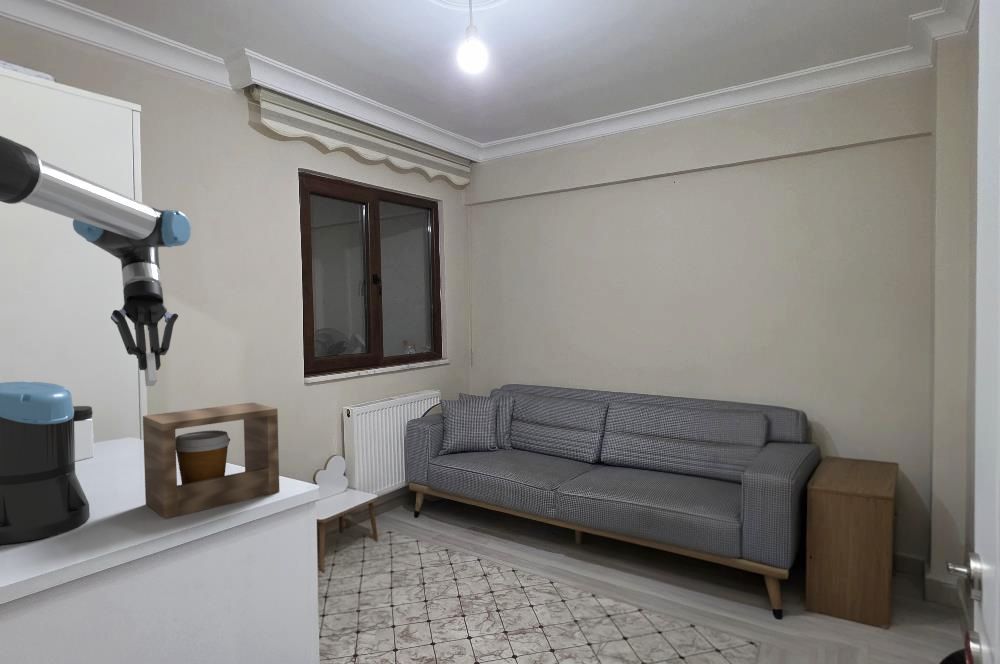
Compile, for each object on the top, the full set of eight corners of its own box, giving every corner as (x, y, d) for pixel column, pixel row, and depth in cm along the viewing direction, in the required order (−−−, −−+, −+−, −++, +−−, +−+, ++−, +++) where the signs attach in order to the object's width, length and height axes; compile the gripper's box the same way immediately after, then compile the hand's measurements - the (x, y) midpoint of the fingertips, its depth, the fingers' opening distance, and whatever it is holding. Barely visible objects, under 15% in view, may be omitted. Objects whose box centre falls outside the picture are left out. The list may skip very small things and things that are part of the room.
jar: (95, 459, 140) (94, 409, 139) (52, 465, 135) (50, 413, 134) (92, 452, 147) (90, 404, 146) (51, 457, 142) (49, 408, 141)
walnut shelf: (165, 519, 99) (161, 423, 98) (145, 504, 107) (142, 415, 106) (279, 491, 113) (277, 408, 113) (255, 480, 121) (253, 402, 120)
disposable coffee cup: (240, 497, 110) (238, 434, 109) (186, 511, 103) (184, 443, 102) (219, 487, 116) (217, 427, 116) (166, 499, 109) (164, 435, 109)
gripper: (170, 298, 139) (180, 389, 130) (105, 293, 130) (111, 391, 121) (179, 282, 134) (190, 375, 126) (112, 275, 125) (119, 375, 117)
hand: (151, 383), depth 124 cm, fingers closed
